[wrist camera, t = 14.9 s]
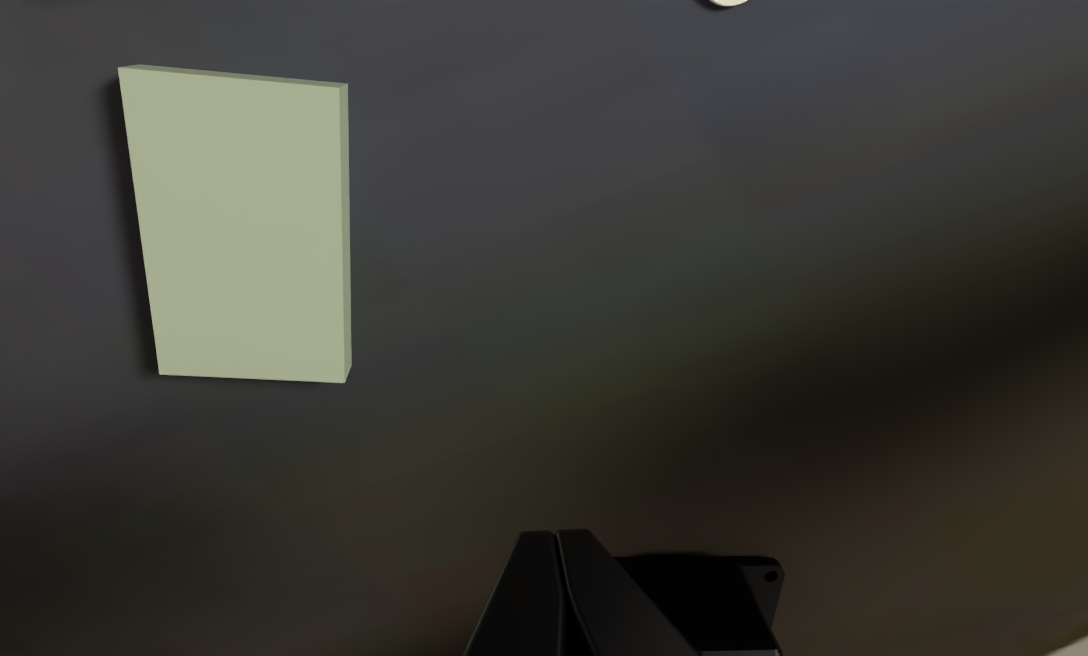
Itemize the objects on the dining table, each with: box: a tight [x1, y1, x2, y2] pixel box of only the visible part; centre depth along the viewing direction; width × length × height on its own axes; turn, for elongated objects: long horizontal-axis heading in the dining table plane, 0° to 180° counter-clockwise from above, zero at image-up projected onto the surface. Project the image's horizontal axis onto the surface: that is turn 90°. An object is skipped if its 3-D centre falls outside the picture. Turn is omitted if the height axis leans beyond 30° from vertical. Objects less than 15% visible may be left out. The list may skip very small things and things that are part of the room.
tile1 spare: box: [118, 65, 351, 383], centre depth 19 cm, size 2×5×8 cm
